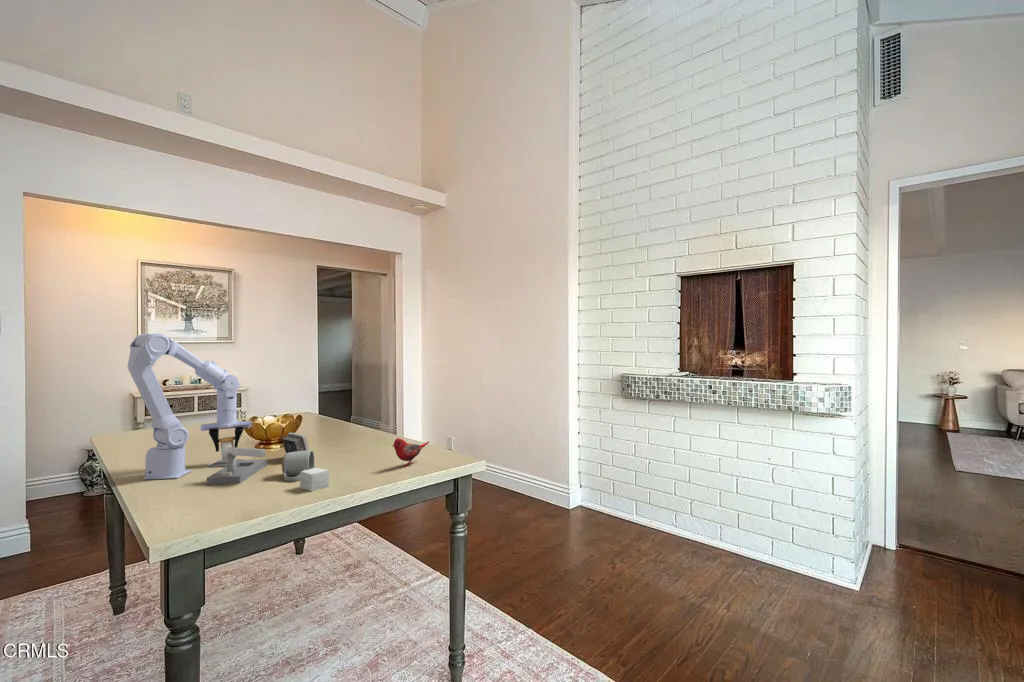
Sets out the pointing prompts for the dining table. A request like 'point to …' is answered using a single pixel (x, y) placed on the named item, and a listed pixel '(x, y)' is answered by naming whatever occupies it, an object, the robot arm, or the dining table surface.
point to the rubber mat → (221, 463)
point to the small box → (314, 479)
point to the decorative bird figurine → (407, 450)
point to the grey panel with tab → (236, 471)
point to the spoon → (245, 452)
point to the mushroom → (226, 445)
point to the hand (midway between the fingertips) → (226, 450)
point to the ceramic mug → (297, 464)
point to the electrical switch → (295, 443)
